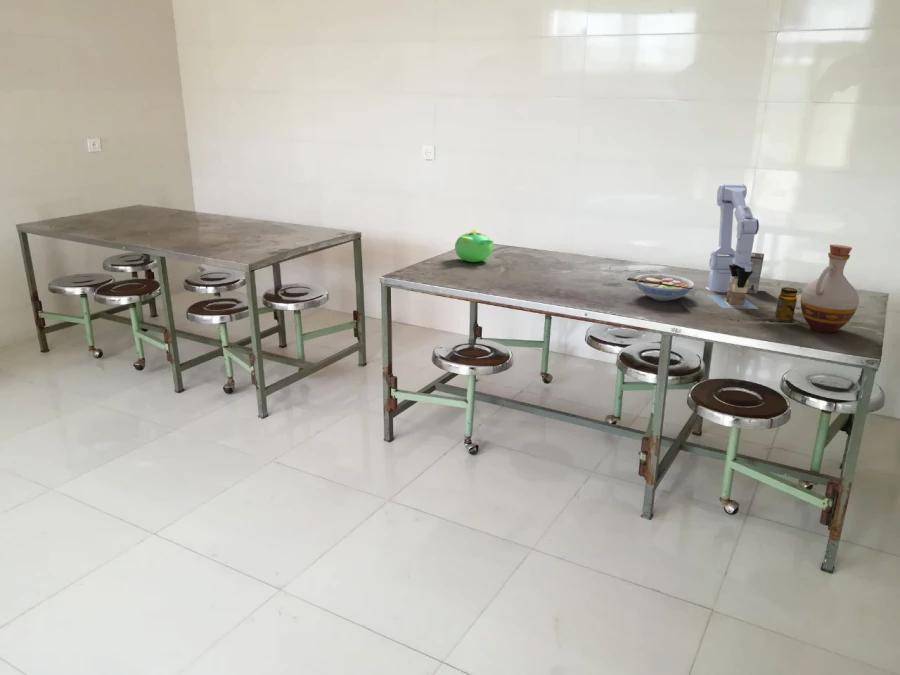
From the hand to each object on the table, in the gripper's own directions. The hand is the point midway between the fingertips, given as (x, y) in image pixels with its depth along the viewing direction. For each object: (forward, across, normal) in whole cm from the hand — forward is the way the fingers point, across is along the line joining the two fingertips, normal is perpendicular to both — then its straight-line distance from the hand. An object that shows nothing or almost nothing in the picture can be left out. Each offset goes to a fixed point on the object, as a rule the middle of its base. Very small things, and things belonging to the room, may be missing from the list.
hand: (737, 285), depth 260 cm
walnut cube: (+7, 0, 0) cm, 7 cm away
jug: (+9, -26, -21) cm, 35 cm away
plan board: (+8, +3, 0) cm, 9 cm away
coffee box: (+9, +21, -14) cm, 27 cm away
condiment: (+9, -16, -11) cm, 21 cm away
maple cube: (+2, 0, 0) cm, 2 cm away
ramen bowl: (+9, +8, +26) cm, 29 cm away
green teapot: (+9, +64, +101) cm, 120 cm away
